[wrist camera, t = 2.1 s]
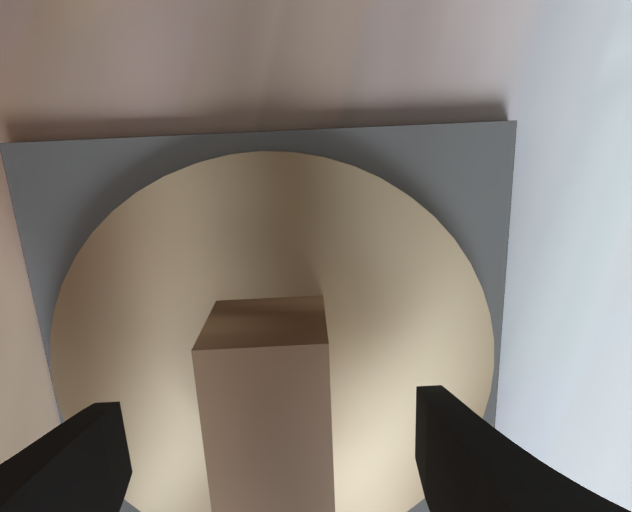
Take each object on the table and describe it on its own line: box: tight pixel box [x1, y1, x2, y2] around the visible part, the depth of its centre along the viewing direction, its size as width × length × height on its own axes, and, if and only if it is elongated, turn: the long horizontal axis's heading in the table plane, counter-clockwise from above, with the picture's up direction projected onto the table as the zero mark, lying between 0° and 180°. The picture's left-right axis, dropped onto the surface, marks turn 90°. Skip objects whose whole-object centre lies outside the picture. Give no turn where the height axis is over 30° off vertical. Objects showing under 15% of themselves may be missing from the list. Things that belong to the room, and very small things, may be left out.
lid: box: [50, 151, 494, 512], centre depth 13 cm, size 13×13×4 cm
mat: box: [0, 121, 517, 512], centre depth 15 cm, size 14×14×1 cm
